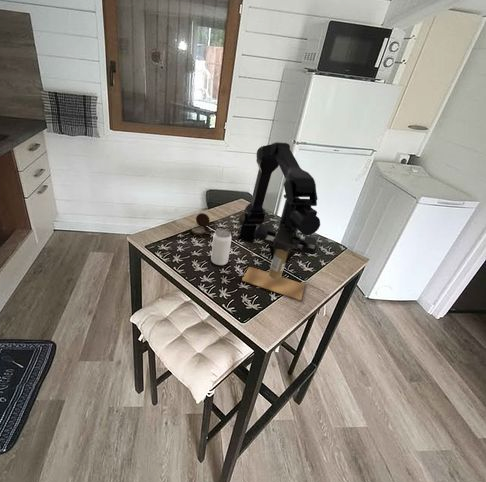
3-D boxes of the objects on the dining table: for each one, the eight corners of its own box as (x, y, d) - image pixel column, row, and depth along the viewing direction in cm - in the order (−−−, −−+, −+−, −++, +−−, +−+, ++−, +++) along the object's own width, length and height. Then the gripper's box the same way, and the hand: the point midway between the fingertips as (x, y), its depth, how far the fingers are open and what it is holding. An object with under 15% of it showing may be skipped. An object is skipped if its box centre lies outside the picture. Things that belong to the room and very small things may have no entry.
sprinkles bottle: (283, 279, 93) (295, 246, 86) (271, 280, 92) (281, 246, 85) (277, 270, 97) (288, 237, 90) (265, 271, 96) (275, 238, 88)
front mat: (241, 280, 95) (241, 279, 95) (249, 267, 102) (249, 266, 102) (300, 301, 89) (301, 300, 89) (304, 285, 96) (304, 284, 96)
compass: (188, 233, 119) (189, 217, 115) (196, 225, 125) (197, 211, 122) (205, 238, 117) (207, 222, 113) (213, 230, 123) (214, 215, 119)
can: (230, 258, 106) (234, 230, 100) (225, 267, 100) (229, 239, 94) (213, 254, 107) (217, 226, 101) (208, 263, 102) (211, 234, 96)
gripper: (253, 219, 79) (244, 264, 87) (321, 238, 74) (305, 284, 82) (263, 206, 88) (254, 247, 96) (324, 221, 82) (309, 264, 91)
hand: (279, 260), depth 91 cm, fingers closed on sprinkles bottle, 4 cm apart
